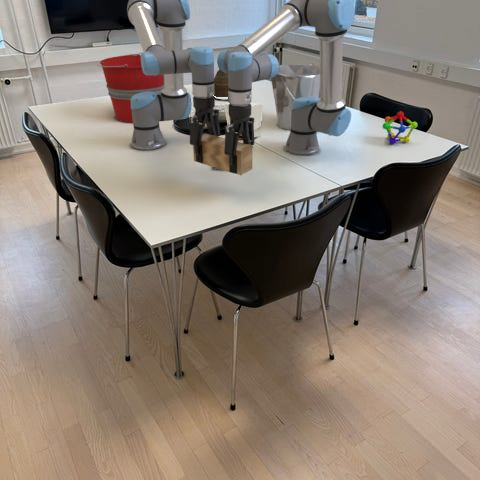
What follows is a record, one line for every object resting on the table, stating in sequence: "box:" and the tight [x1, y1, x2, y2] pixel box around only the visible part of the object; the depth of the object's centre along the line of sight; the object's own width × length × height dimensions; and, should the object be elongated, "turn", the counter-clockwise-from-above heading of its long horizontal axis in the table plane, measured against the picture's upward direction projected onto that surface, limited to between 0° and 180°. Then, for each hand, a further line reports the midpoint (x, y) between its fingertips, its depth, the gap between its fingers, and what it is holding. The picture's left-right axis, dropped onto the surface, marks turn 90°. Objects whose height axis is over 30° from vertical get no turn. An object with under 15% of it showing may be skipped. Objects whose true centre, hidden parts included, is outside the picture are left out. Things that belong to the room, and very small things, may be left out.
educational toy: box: [382, 110, 418, 145], centre depth 207 cm, size 16×13×15 cm
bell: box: [214, 68, 229, 97], centre depth 278 cm, size 19×26×20 cm
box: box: [192, 132, 254, 176], centre depth 158 cm, size 22×7×9 cm, turn 53°
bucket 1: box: [96, 52, 164, 124], centre depth 238 cm, size 35×35×30 cm
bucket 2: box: [270, 63, 320, 131], centre depth 226 cm, size 30×30×28 cm
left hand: (206, 158), depth 164 cm, fingers closed on box, 7 cm apart
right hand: (239, 169), depth 156 cm, fingers closed on box, 7 cm apart
